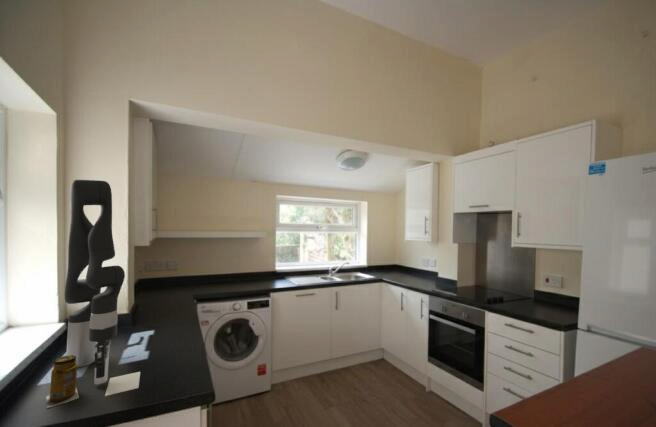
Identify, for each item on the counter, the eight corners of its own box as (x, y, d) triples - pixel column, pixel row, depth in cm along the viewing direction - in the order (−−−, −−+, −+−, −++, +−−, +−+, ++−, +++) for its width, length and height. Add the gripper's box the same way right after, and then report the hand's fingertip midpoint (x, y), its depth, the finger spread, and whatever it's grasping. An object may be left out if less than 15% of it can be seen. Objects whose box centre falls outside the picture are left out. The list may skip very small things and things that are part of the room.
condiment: (76, 387, 94) (78, 351, 94) (79, 398, 88) (81, 360, 88) (45, 397, 88) (48, 358, 89) (46, 409, 83) (49, 368, 83)
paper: (110, 378, 99) (110, 378, 99) (140, 372, 104) (140, 371, 104) (104, 396, 89) (104, 395, 89) (138, 388, 94) (138, 387, 94)
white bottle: (94, 380, 96) (96, 346, 96) (108, 377, 98) (110, 344, 98) (92, 385, 92) (94, 351, 93) (107, 382, 94) (108, 348, 95)
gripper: (93, 319, 100) (91, 368, 99) (85, 333, 88) (82, 388, 87) (119, 316, 104) (117, 362, 103) (114, 328, 92) (112, 381, 91)
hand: (101, 374), depth 95 cm, fingers closed on white bottle, 3 cm apart
